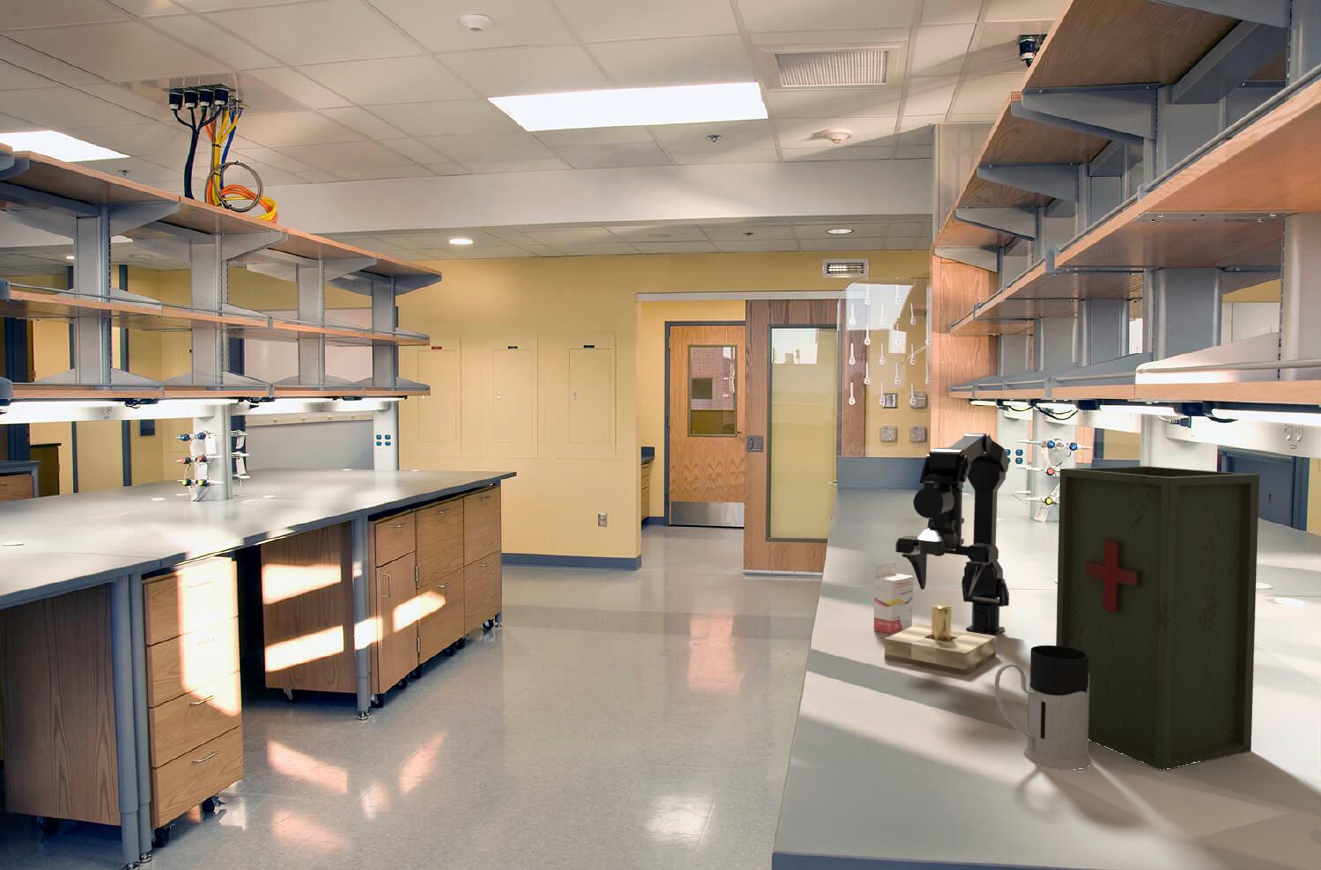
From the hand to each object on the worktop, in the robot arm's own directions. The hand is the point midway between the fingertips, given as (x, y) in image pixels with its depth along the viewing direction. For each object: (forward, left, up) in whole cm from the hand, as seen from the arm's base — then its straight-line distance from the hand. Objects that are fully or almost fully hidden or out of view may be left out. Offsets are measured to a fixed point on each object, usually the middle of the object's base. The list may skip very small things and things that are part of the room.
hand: (945, 592), depth 178 cm
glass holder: (+41, +31, -13) cm, 53 cm away
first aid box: (+22, +41, -13) cm, 48 cm away
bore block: (+1, 0, -13) cm, 13 cm away
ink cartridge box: (-14, -17, -13) cm, 26 cm away
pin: (+1, 0, -12) cm, 12 cm away
